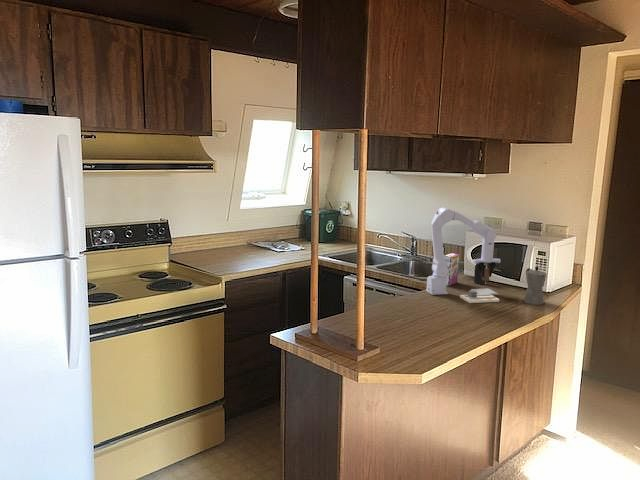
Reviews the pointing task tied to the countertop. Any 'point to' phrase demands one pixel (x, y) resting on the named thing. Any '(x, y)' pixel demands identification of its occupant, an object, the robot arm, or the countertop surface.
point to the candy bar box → (452, 268)
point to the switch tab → (472, 293)
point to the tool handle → (486, 274)
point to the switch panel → (480, 298)
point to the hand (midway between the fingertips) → (485, 276)
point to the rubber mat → (485, 291)
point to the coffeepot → (534, 286)
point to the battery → (477, 275)
